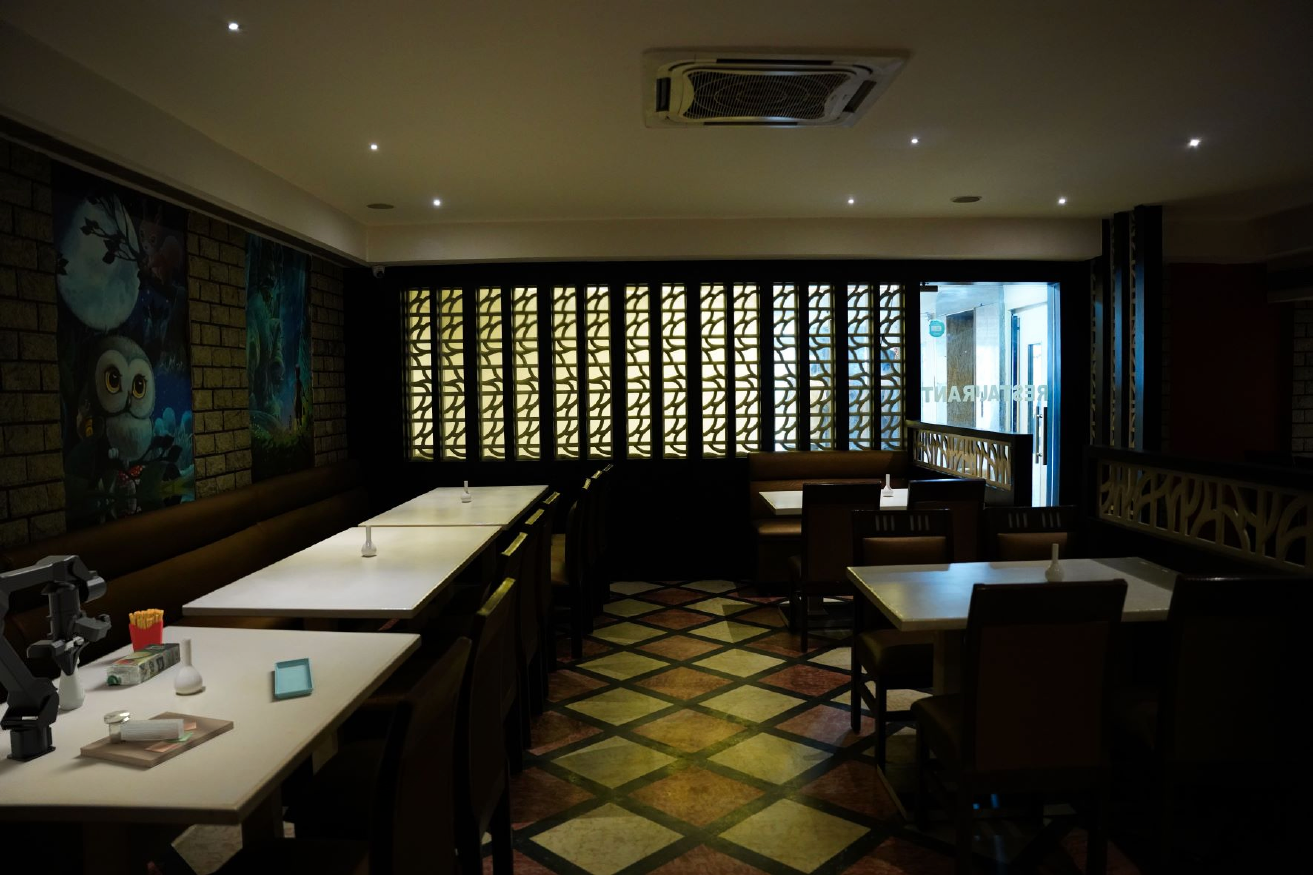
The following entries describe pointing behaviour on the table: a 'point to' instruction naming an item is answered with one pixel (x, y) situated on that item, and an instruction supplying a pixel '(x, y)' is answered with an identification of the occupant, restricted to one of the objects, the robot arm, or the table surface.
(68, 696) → the salt shaker
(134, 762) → the brown cutting board
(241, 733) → the table surface
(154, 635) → the french fries
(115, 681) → the juice carton
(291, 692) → the rectangular tray
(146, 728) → the bar with metal cap
